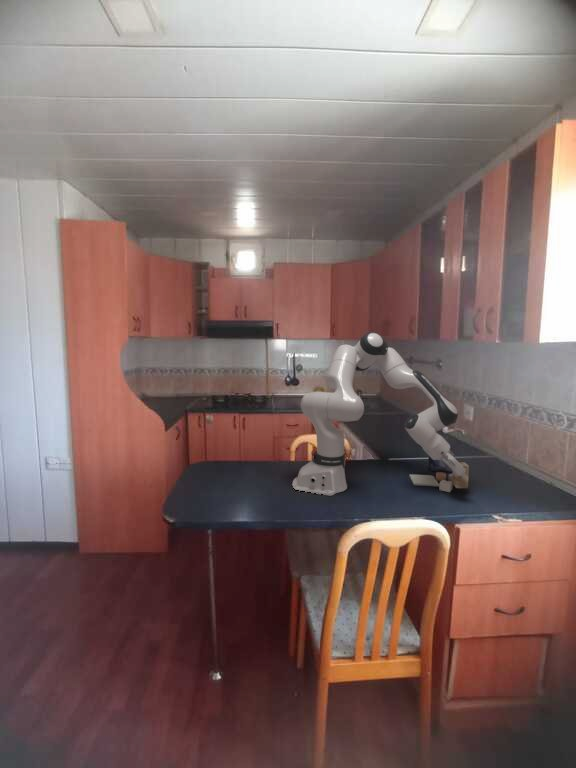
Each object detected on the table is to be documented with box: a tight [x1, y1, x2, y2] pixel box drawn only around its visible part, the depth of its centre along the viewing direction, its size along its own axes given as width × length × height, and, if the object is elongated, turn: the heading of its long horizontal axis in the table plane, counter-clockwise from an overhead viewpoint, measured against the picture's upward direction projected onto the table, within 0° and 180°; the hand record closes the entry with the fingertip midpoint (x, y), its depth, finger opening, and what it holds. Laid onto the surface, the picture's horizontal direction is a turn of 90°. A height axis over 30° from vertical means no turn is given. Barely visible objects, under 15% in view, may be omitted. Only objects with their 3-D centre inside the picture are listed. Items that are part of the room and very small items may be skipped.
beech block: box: [452, 461, 470, 489], centre depth 145 cm, size 4×4×9 cm
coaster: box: [409, 473, 440, 487], centre depth 157 cm, size 10×10×1 cm
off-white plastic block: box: [438, 480, 454, 493], centre depth 148 cm, size 4×4×3 cm
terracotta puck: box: [435, 471, 447, 483], centre depth 158 cm, size 4×4×3 cm
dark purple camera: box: [427, 446, 456, 474], centre depth 169 cm, size 11×6×10 cm, turn 76°
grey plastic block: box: [447, 473, 453, 482], centre depth 156 cm, size 4×4×3 cm
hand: (461, 473), depth 145 cm, fingers closed on beech block, 5 cm apart
